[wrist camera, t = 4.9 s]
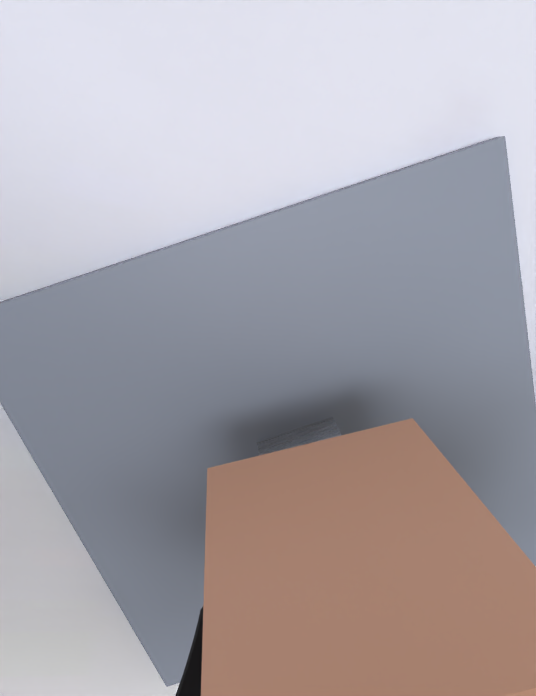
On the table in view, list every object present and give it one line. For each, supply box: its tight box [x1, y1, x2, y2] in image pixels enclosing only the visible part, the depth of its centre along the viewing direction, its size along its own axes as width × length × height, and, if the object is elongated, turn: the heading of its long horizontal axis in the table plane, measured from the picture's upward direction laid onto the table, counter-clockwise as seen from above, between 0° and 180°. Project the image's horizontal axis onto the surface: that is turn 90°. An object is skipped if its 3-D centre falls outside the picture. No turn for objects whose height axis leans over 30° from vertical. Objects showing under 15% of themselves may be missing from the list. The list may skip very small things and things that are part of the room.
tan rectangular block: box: [201, 418, 536, 696], centre depth 10 cm, size 5×5×7 cm
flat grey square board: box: [0, 136, 536, 686], centre depth 14 cm, size 16×16×7 cm
